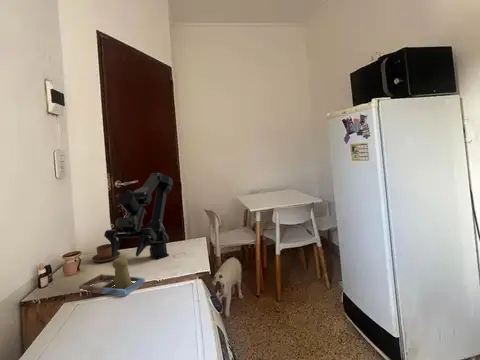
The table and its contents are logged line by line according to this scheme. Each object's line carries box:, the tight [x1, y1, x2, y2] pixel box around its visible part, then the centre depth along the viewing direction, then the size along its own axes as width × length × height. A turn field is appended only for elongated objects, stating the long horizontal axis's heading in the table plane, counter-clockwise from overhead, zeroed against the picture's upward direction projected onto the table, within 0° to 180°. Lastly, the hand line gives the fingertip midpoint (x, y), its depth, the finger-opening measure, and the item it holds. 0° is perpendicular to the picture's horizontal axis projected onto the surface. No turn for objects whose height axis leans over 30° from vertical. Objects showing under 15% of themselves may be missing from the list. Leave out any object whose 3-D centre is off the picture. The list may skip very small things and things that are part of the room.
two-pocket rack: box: [78, 273, 146, 297], centre depth 122 cm, size 20×11×2 cm, turn 68°
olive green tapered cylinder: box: [112, 256, 133, 289], centre depth 120 cm, size 6×6×11 cm
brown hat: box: [91, 243, 121, 263], centre depth 155 cm, size 12×12×6 cm
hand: (124, 256), depth 123 cm, fingers open, 9 cm apart
